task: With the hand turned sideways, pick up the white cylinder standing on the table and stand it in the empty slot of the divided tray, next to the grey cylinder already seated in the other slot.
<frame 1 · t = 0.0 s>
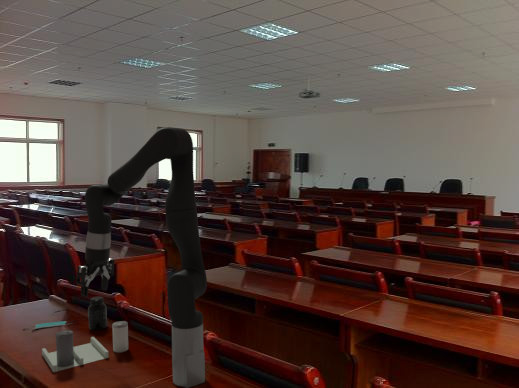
hand: (94, 293, 149), 22 cm above the table, tool pointing down, fingers open, 8 cm apart
white cylinder: (120, 352, 156), on the table
surgical mask: (51, 327, 181), on the table
grey cylinder: (65, 363, 145), point 1 cm above the table, touching divided tray
supplement bottle: (98, 328, 179), on the table
divided tray: (75, 358, 150), on the table
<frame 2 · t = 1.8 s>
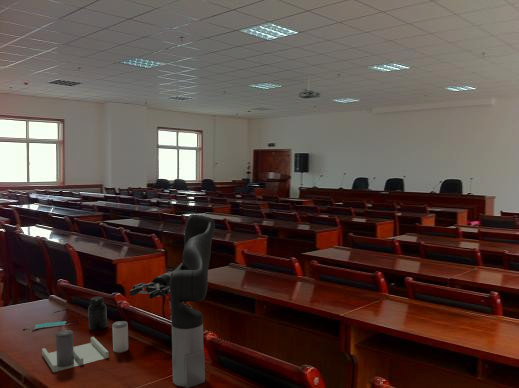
hand: (140, 294, 165), 17 cm above the table, tool horizontal, fingers open, 8 cm apart
nothing on the table moved.
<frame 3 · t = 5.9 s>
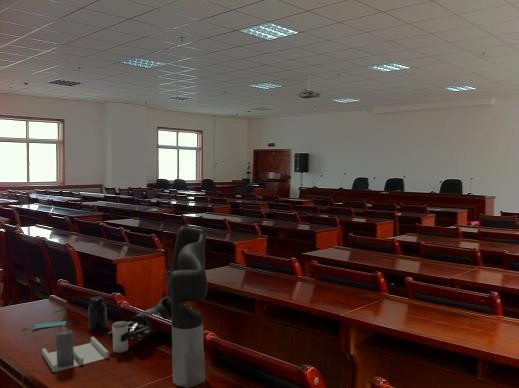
hand: (115, 337, 153), 6 cm above the table, tool horizontal, fingers closed on white cylinder, 5 cm apart
white cylinder: (120, 352, 156), on the table, touching gripper
everything else where it was.
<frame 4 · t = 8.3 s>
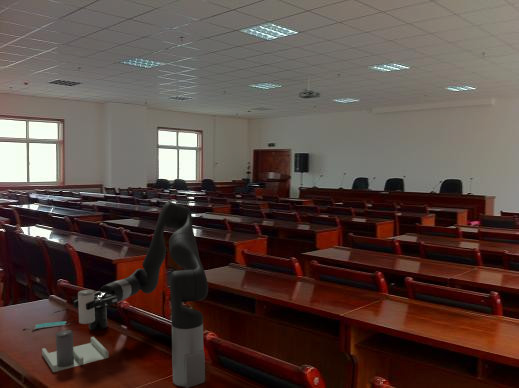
hand: (80, 305, 149), 18 cm above the table, tool horizontal, fingers closed on white cylinder, 5 cm apart
white cylinder: (87, 321, 152), point 12 cm above the table, touching gripper
everything else where it was.
when the fingers open (8 cm above the table, at t = 10.5 s): white cylinder drops 1 cm, resting on divided tray.
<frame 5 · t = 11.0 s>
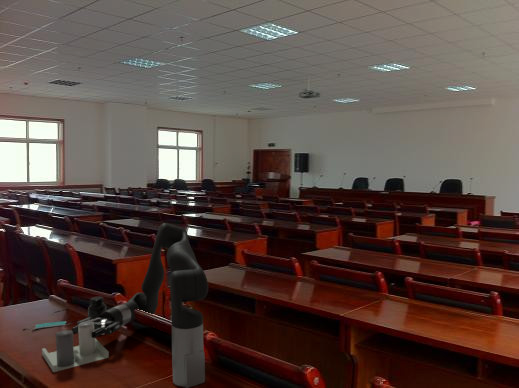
hand: (82, 333, 150), 8 cm above the table, tool horizontal, fingers open, 8 cm apart
white cylinder: (87, 352, 153), point 1 cm above the table, touching divided tray
everything else where it was.
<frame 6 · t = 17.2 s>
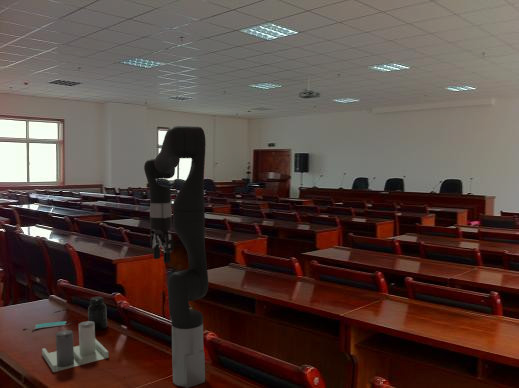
hand: (161, 260, 161), 30 cm above the table, tool pointing down, fingers open, 8 cm apart
nothing on the table moved.
at the end: white cylinder inside the target area on the divided tray (0.1 cm from its centre), point 1.0 cm above the divided tray's base; white cylinder tilted 0°; the gripper is holding nothing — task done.
